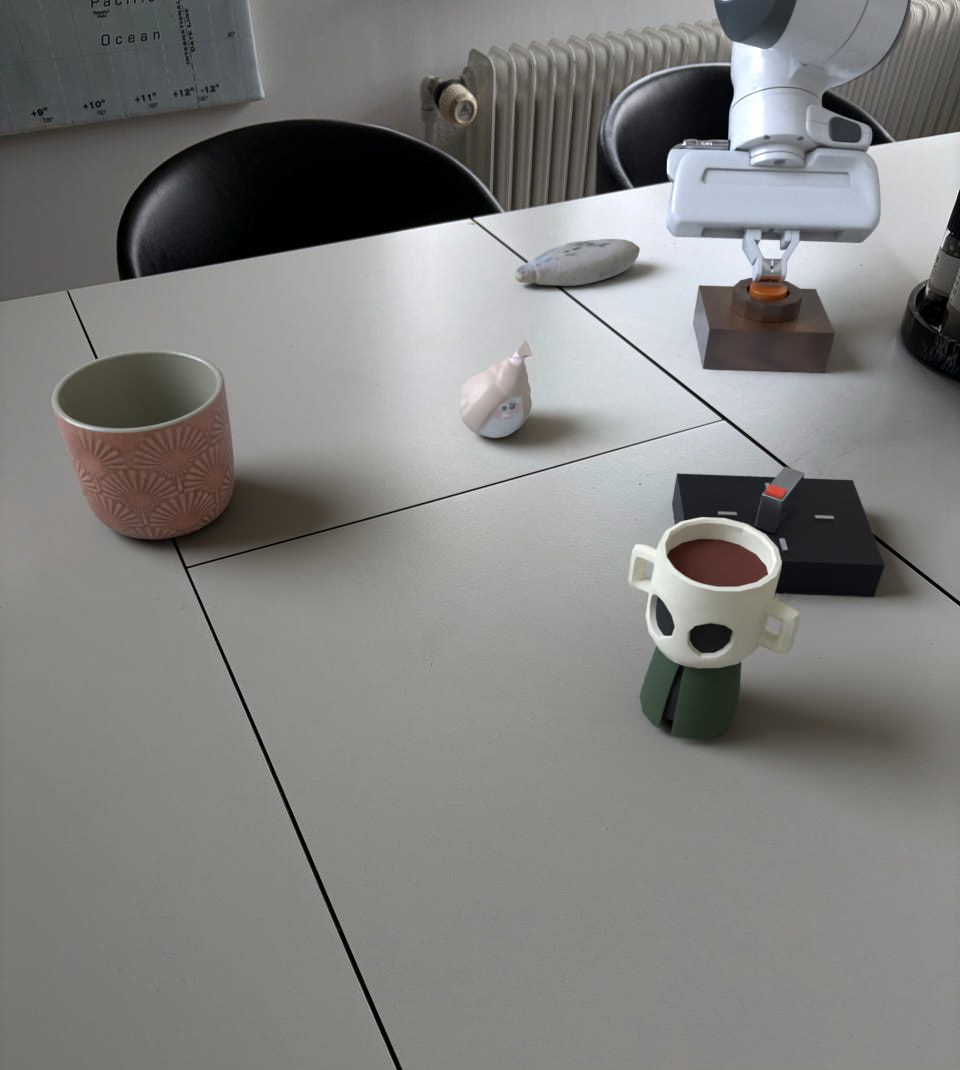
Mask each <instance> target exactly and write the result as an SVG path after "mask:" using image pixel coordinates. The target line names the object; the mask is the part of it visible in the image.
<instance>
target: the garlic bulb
mask: <svg viewBox="0 0 960 1070" xmlns="http://www.w3.org/2000/svg"><path fill="white" fill-rule="evenodd" d="M531 356H533V354H532V351H531V348H530V346H529V343H528V342H527V339H524V341H523V342H522V343H521V344H520V345H519V347H518V349H517V350H516V352H514V354H513V355H509V356H507V357H506V358H505V359H504V360H503V361H501V362H500V361H499V362H496V363H493V364H492V365H491V366H490V367H488V368H486V369H484V370H482V371H480V372H478V373H477V374H474V375H472V376H470V377H469V378H468V379H466V381H465V382H464V384H463V386H462V387H461V389H460V392H459V399H458V400H459V401H458V402H459V404H458V405H459V406H458V407H459V408H458V409H459V414H460V417H461V420H462V422H463V424H464V425H465V426H466V427H467V428H468V429H469V430H470V431H471V432H472V433H473V434H475V435H479V436H482V437H485V438H486V437H487V438H492V439H498V438H499V439H500V438H504V437H507V436H509V435H511V434H513V433H515V431H517V430H519V429H520V428H521V427H522V426H523V425H524V424H525V423H526V421H527V420H528V418H529V416H530V413H531V410H532V404H533V403H532V397H531V393H532V390H531V385H530V383H529V374H528V370H527V365H526V363H525V358H528V357H531Z"/></svg>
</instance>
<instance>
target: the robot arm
mask: <svg viewBox="0 0 960 1070" xmlns="http://www.w3.org/2000/svg"><path fill="white" fill-rule="evenodd" d="M713 3H714V8H715V12H716V16H717V19H718V22H719V24H720V26H721V28H722V31H723V32H724V34H725V36H726V37H727V39H729V40H730V41H731V42H732V43H731V57H730V79H731V84H732V87H733V99H732V101H731V104H730V108H729V114H728V137H727V138H728V139H708V140H706V139H703V140H700V139H699V140H698V139H696V138H688V139H684V140H682V142H681V143H677V144H676V145H674V146H673V147H671V149H670V150H669V152H668V154H667V156H666V176H667V178H668V180H669V181H670V182H671V183H672V185H671V190H670V194H669V199H668V205H667V212H666V213H667V214H666V224H665V225H666V229H667V230H668V232H669V233H670V235H672V236H673V237H674V238H693V239H694V238H696V239H697V238H698V239H725V240H742V241H741V242H742V243H741V250H742V251H743V253H744V255H745V256H746V258H747V260H748V261H749V264H750V265H751V266H752V277H753V282H775V283H783V282H784V281H786V278H787V274H788V273H787V272H788V261H789V259H790V257H791V256H792V254H793V252H794V251H795V250H796V248H797V246H798V245H799V244H800V242H815V243H817V242H819V243H845V244H848V243H849V244H850V243H851V244H861V243H864V242H865V241H866V240H867V239H868V238H869V237H870V236H871V235H872V234H873V233H874V231H875V230H876V229H877V227H878V225H879V224H880V221H881V215H882V214H881V213H882V209H881V208H882V199H881V185H880V175H879V170H878V166H877V164H876V161H875V159H874V158H873V157H872V156H871V155H870V154H869V153H867V152H868V151H869V148H870V146H871V144H872V140H873V131H872V128H871V126H870V125H868V124H866V123H863V122H860V121H858V120H855V119H852V118H849V117H846V116H843V115H841V114H839V113H836V112H834V111H831V110H829V109H827V108H825V107H823V102H822V101H823V100H822V99H823V96H824V93H825V92H826V91H827V90H829V89H837V88H841V87H842V86H845V85H847V84H849V83H851V82H853V81H855V80H857V79H859V78H861V77H863V76H865V75H867V74H868V73H870V72H872V71H874V70H875V69H877V68H878V67H879V66H881V65H882V64H883V63H885V61H886V60H888V59H889V58H890V56H891V55H892V54H893V53H894V52H895V51H896V49H897V48H898V46H899V44H900V42H901V40H902V38H903V36H904V34H905V31H906V28H907V25H908V23H909V22H908V21H909V18H910V14H911V13H910V12H911V7H912V6H911V5H912V0H713ZM761 241H779V250H780V251H784V252H783V253H782V255H781V257H780V258H767V257H766V258H765V257H764V256H763V253H762V251H761V249H760V248H759V244H760V242H761Z"/></svg>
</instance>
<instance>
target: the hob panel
mask: <svg viewBox="0 0 960 1070" xmlns="http://www.w3.org/2000/svg"><path fill="white" fill-rule="evenodd" d="M776 477H777V476H760V475H759V476H756V475H731V474H729V475H728V474H705V473H703V474H702V473H680V472H679V473H678V472H677V473H676V477H675V483H674V489H673V496H672V501H671V506H672V514H673V520H674V525H676V524H678V523H679V522H681V521H686V520H691V519H695V518H700V517H708V518H726V519H730V520H734V521H737V522H741V523H745V524H748V525H750V526H751V527H753V528H755V529H757V530H759V531H760V532H762V533H764V534H766V535H767V536H768V538H769V539H770V540H771V541H772V542H773V543H774V544H775V545H776V546H777V547H778V550H779V554H780V557H781V561H782V566H781V572H780V575H779V579H778V583H777V587H776V591H775V594H797V595H798V594H799V595H819V596H822V595H823V596H846V597H871V598H874V597H875V595H876V593H877V590H878V587H879V584H880V581H881V578H882V575H883V572H884V570H885V567H886V563H885V561H884V558H883V556H882V553H881V550H880V548H879V545H878V543H877V540H876V537H875V534H874V532H873V530H872V527H871V524H870V522H869V519H868V517H867V514H866V512H865V511H866V510H865V509H864V506H863V503H862V501H861V498H860V496H859V493H858V490H857V487H856V485H855V483H854V480H853V479H835V478H833V479H832V478H808V477H805V478H803V482H802V485H801V489H800V493H799V497H798V501H797V505H796V506H795V508H794V509H793V510H792V511H791V513H790V514H789V515H788V517H787V518H786V519H785V521H784V522H783V523H782V524H781V526H780V527H779V528H778V530H777V531H776V532H775V533H771V532H768V531H765V530H762V529H760V528H757V527H755V523H756V519H757V514H758V510H759V506H760V501H761V497H762V494H763V493H764V491H765V490H766V489H767V488H768V487H769V485H770V484H771V483H772V482H773V480H774V479H775V478H776Z"/></svg>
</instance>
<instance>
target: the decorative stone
mask: <svg viewBox="0 0 960 1070" xmlns="http://www.w3.org/2000/svg"><path fill="white" fill-rule="evenodd" d="M640 249H641V248H640V246H639V245H637V244H636V243H634V242H633V241H631V240H627V239H620V238H601V239H590V240H576V241H571V242H568V243H564V244H561V245H558V246H555V247H553V248H551V249H548V250H546V251H543V252H542V253H541V254H539V255H536V256H534V257H533V258H532V259H530V260H529V261H527V263H526V264H522V265H521V266H519V267H518V268H517V269H516V270H515V274H514V275H515V276H514V277H515V281H517V282H519V283H523V284H532V283H533V284H536V285H541V286H557V287H573V286H574V287H575V286H582V285H583V286H584V285H587V284H592V283H597V282H601V281H604V280H607V279H610V278H613V277H615V276H618V275H620V274H622V273H624V272H625V271H627V270H629V269H630V268H631V267H632V266H633V265H634V264H635V262H636V261H637V259H638V257H639V254H640V251H641V250H640Z"/></svg>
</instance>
